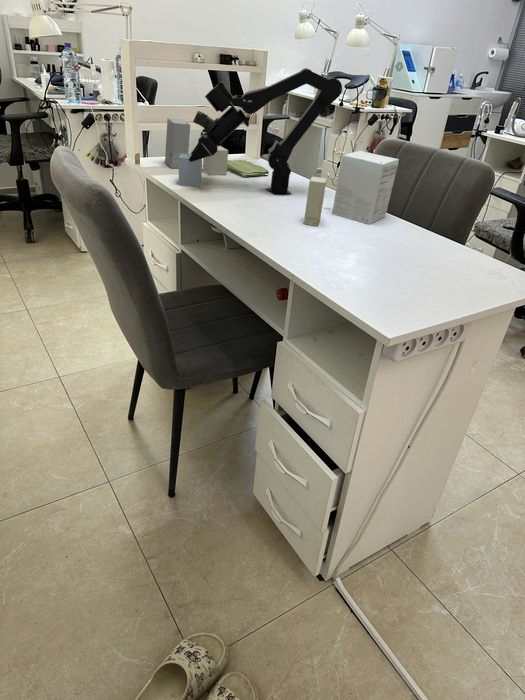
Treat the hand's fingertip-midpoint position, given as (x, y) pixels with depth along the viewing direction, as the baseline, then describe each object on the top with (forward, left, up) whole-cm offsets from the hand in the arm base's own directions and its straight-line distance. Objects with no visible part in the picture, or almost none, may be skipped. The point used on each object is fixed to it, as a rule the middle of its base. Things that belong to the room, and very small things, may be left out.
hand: (190, 157), depth 160 cm
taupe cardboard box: (+14, -14, -8) cm, 21 cm away
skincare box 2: (-42, -22, -8) cm, 49 cm away
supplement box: (-38, -42, -9) cm, 58 cm away
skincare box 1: (+24, -3, -8) cm, 25 cm away
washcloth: (+16, -27, -9) cm, 32 cm away
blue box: (0, 0, -8) cm, 8 cm away
